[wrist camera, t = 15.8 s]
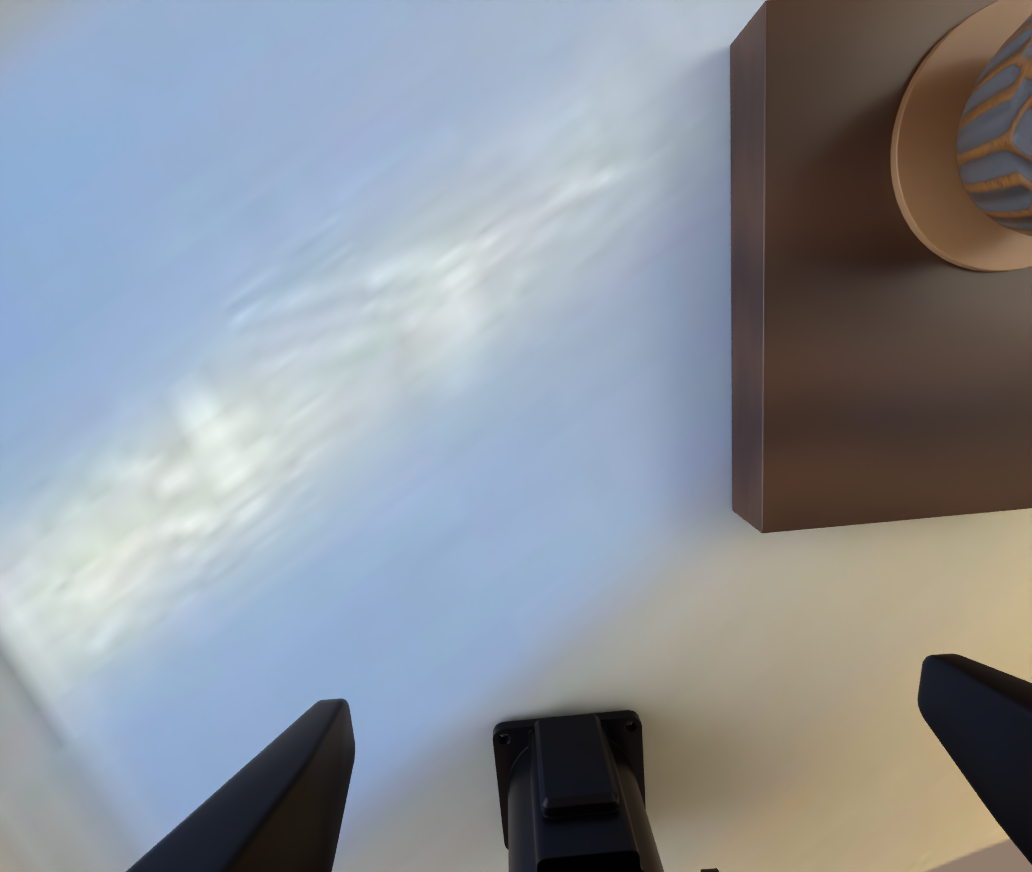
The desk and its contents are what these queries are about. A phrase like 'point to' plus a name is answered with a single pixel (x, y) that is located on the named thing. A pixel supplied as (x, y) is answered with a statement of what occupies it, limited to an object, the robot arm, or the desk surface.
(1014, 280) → the riser board
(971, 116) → the vase
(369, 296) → the desk surface
